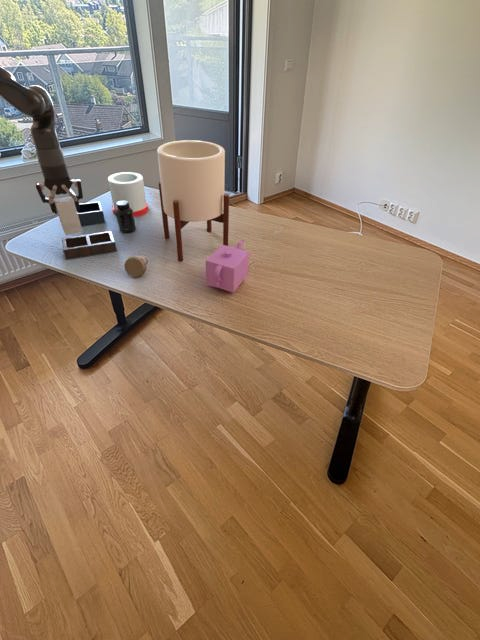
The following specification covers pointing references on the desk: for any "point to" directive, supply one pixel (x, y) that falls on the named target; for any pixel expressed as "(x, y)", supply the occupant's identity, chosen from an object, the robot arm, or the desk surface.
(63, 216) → the cosmetic box
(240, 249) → the teapot
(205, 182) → the planter
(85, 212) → the dark grey open box
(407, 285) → the desk surface
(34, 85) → the robot arm
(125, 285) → the desk surface
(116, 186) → the container
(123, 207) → the supplement bottle
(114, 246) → the box
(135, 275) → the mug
